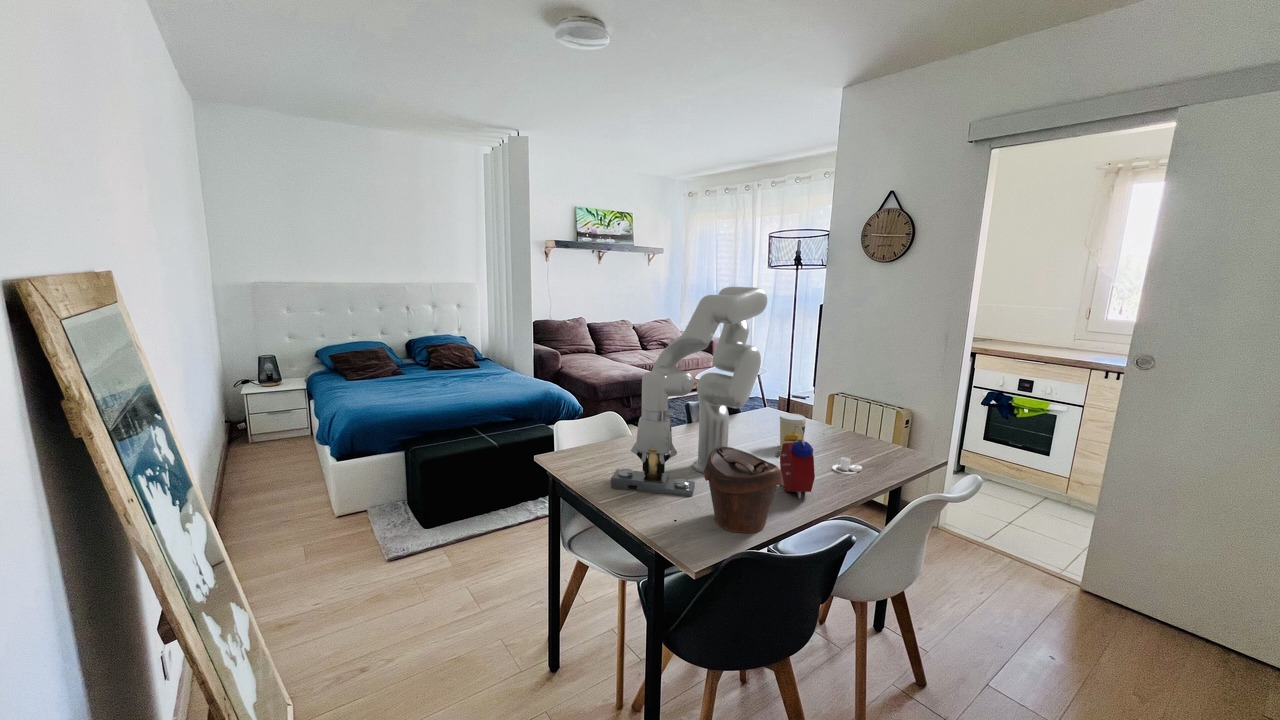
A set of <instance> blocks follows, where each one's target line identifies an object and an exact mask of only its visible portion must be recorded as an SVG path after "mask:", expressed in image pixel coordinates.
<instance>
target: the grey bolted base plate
mask: <svg viewBox="0 0 1280 720" xmlns="http://www.w3.org/2000/svg"><path fill="white" fill-rule="evenodd" d="M669 477H670V474H669V472H668V473H667V472H664V473H662V476H661V477H660V480H659V481H652V480H647V475H644V471H638V470H633V469H630V468H619V469H618V468H617V469H616V470H615V472H614V473H613V474H612V476H611V477H610V488H611V489H613V490H614V489H616V490H625V491H627V490H629V488H630V487H631V486H636V492H638V493H648V494H657V495H659V494H663V495H664V494H665V495H675V496H676V495H677V496H683V497H684V496H685V497H693V494H694V491H695V487H696V486H695V485H696V482H695V481H693V480H688V479H685V478H677V479H671V478H670V479H669Z"/></svg>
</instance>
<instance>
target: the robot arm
mask: <svg viewBox="0 0 1280 720" xmlns="http://www.w3.org/2000/svg"><path fill="white" fill-rule="evenodd" d="M767 305H768V297H767V293H766V292H765V291H764V290H763V289H761V288H759V287H755V286H754V287H751V286H750V287H749V286H727V287H726V286H725V287H724V288H722V289H720V291H719V292H718V294H707V295H705V296H703V297H701V299H700V300H699V302H698V304H697V306H696V308H695V310H694V312H693V314H692V316H691V318H689V319H690V320H689V322H688V324H687V326H686V328H685V329H684V331H683V333H682V334H681V335H680V336H679V337H677V338H675V340H673V341H672V342H671V343H670V344H668V345H667V346H666V347H665V348H664V349H663V350H662V351H661V353H660V354H659V355H658V357H657V359H656V361H655V363H654V365H653V367H652V368H651V371H646V372H645V373H643V375H642V378H641V416H640V417H639V419H638V424H637V433H636V440H635V443H634V444H633V446H632V447H631V449H630V451H631V453H633V454H634V455H637V457H638V458H639V459H640V461H641V462H642V472H644V475H647V471H648V453H657V454H659V455H660V463H659V477H661V476H662V473H665V471H666V470H665V469H666V468H665V464H666V463H667V461H669V460H670V458H673V457H675V456H677V454H678V451H677V449H676V448H675V445H674V444H673V434H672V433H673V432H672V424H671V423H672V421H671V418H669V417H673V411H671V410H669V408H668V407H669V405H668V404H669V403H668V402H669V401H668V400H669V399H668V398H669V397H681V396H682V397H683V396H686V395H689V394H690V393H691V392H692V391H693V390H694V387H695V379H694V377H693V376H692V374H691V373H690V372H688V371H685V370H683V369H682V370H681V369H677V368H675V367H676V365H677V364H679V362H680V361H681V360H682V359H684V358H686V357H688V356H690V355H693V354H696V353H698V352H701V351H703V350H706V349H707V348H709V345H710V343H711V341H712V339H713V337H714V335H715V333H716V331H717V329H718V327H719V326H720V324H723V325H722V329H721V333H720V336H719V338H718V341H717V343H716V346H715V349H714V352H713V356H712V358H711V359H712V361H711V362H712V365H713V366H714V367H715V368H716V369H718V370H720V371H723V372H728V373H732V374H733V375H728V374H723V373H719V372H718V373H717V372H706V373H704V374H702V375H701V376H700V377H699V378H698V381H697V383H696V384H697V385H696V392H697V393H696V394H697V399H698V404H699V405H698V407H699V415H698V417H699V418H698V419H699V420H698V446H697V447H698V449H697V459H695V460H694V461H693V464H692V468H693V469H694V470H695V471H697V472H699V473H702V474H704V469H705V467H706V464H707V461H708V457H709V455H710V454H711V452H712V451H713V450H714V449H715V448H717V447H722V446H725V447H729V427H730V426H729V425H730V415H729V410H728V408H731V409H740V408H743V407H744V406H745V405H746V404H747V403H748V401H749V399H750V396H751V394H752V391H753V388H754V386H755V384H756V380H757V377H758V375H759V373H760V369H761V362H762V358H761V353H760V351H759V349H758V348H757V347H755V346H754V345H750V344H746V343H747V341H748V337H749V333H750V329H749V327H750V326H749V323H748V320H750V319H752V318H755V317H756V316H757V317H758V316H759V315H761V314H762V313H763V312H764V311H765V309H766V307H767ZM649 448H656V450H657V452H651V451H648V450H649Z"/></svg>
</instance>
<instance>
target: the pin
mask: <svg viewBox="0 0 1280 720" xmlns="http://www.w3.org/2000/svg"><path fill="white" fill-rule="evenodd" d="M648 451H651V452H657V450H656V448H649V450H648ZM647 458H648V471H647V480H652V481H659V480H660V477H659V463H660V455H659V454H657V453H648V456H647Z"/></svg>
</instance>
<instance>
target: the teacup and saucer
mask: <svg viewBox="0 0 1280 720" xmlns="http://www.w3.org/2000/svg"><path fill="white" fill-rule="evenodd" d="M838 460H839V461H840V464H839V463H838ZM837 467H839V468H840V469H841V470H842V471H841V470H838V469H837ZM831 468H832V470H833V471H835V472H837V473H841V474H846V475H853V474H854V475H855V474H856V473H858V472H861V471H862V470H863V467H862V466H861V465H860V464H859V465H858V464H853V465H851V458H850V457H846V456H842V457H840V458H837V459H836V464H834V465H832V466H831ZM849 469H850V471H851V472H849ZM846 471H847V472H846Z"/></svg>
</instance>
